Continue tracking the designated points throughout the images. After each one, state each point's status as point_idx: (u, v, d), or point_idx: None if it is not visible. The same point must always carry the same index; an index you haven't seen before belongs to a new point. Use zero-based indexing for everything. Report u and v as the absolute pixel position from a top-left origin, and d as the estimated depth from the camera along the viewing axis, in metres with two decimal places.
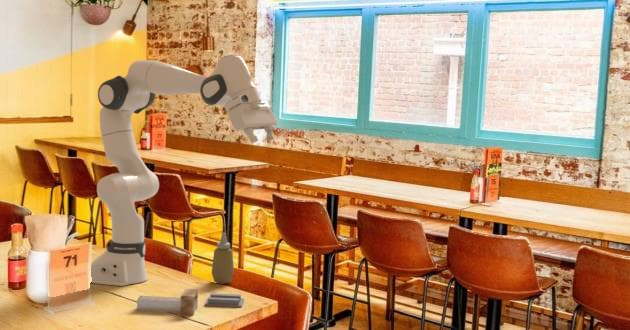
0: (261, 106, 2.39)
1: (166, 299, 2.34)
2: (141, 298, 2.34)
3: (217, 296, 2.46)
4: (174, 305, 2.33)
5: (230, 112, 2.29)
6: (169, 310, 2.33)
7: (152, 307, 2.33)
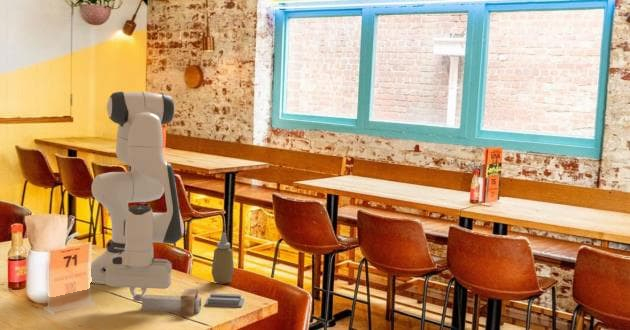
0: (150, 267, 2.32)
1: (171, 298, 2.34)
2: (146, 297, 2.34)
3: (217, 296, 2.46)
4: (179, 304, 2.34)
5: None
6: (174, 309, 2.34)
7: (157, 306, 2.34)
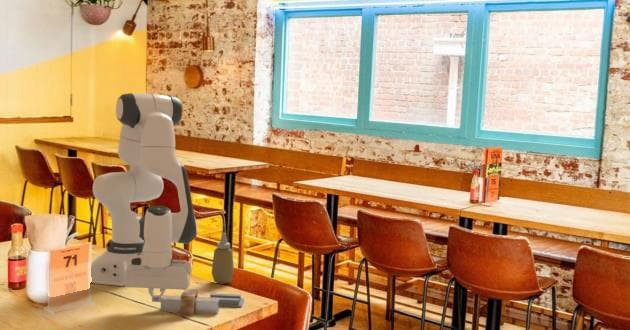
0: (169, 268, 2.32)
1: None
2: (165, 298, 2.34)
3: (217, 296, 2.46)
4: (198, 305, 2.34)
5: None
6: None
7: (176, 307, 2.34)
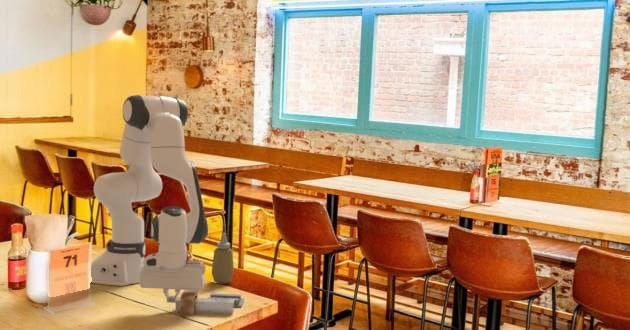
0: (184, 269, 2.32)
1: (204, 301, 2.34)
2: (179, 299, 2.34)
3: (217, 296, 2.46)
4: (212, 306, 2.34)
5: None
6: (207, 311, 2.34)
7: None
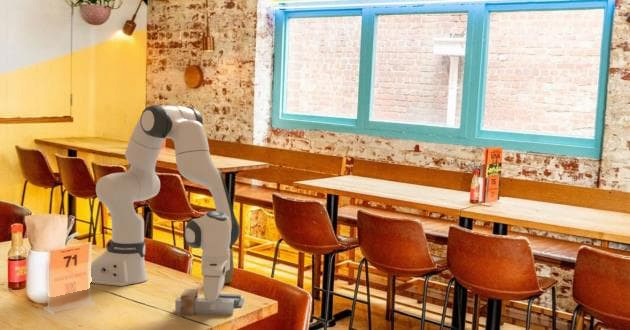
0: None
1: (204, 300, 2.33)
2: (179, 300, 2.33)
3: None
4: None
5: (206, 280, 2.25)
6: (208, 311, 2.33)
7: None
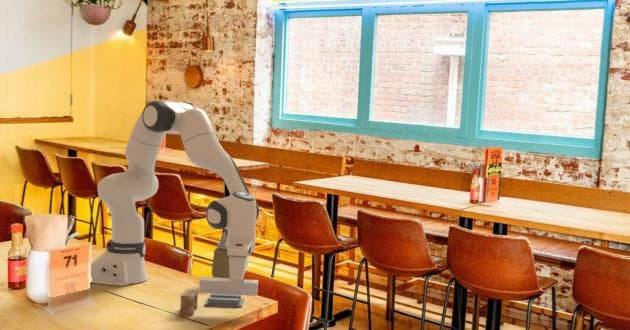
0: None
1: (228, 281, 2.33)
2: (203, 279, 2.33)
3: (217, 296, 2.46)
4: None
5: (232, 260, 2.24)
6: (231, 291, 2.33)
7: (214, 288, 2.32)
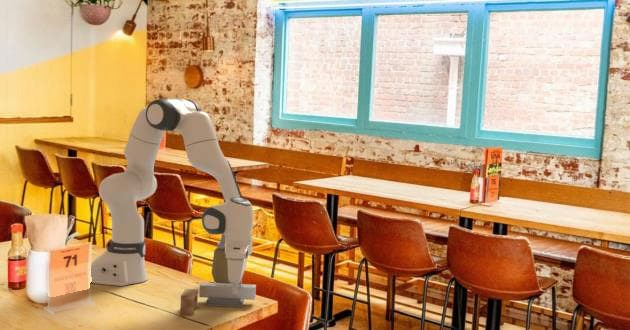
0: None
1: (227, 285, 2.43)
2: (203, 284, 2.44)
3: None
4: None
5: (230, 263, 2.34)
6: (230, 296, 2.43)
7: (214, 293, 2.43)
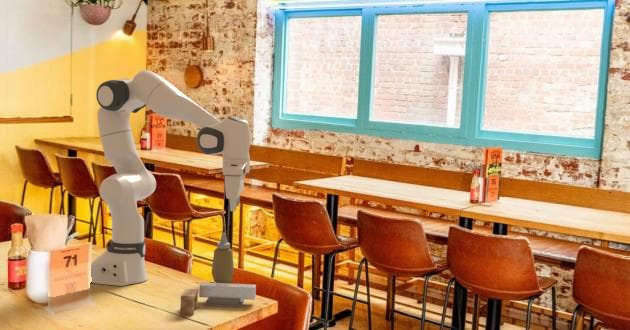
0: None
1: (227, 285, 2.43)
2: (203, 284, 2.44)
3: None
4: (235, 291, 2.43)
5: (228, 179, 2.34)
6: (230, 296, 2.43)
7: (214, 293, 2.43)
